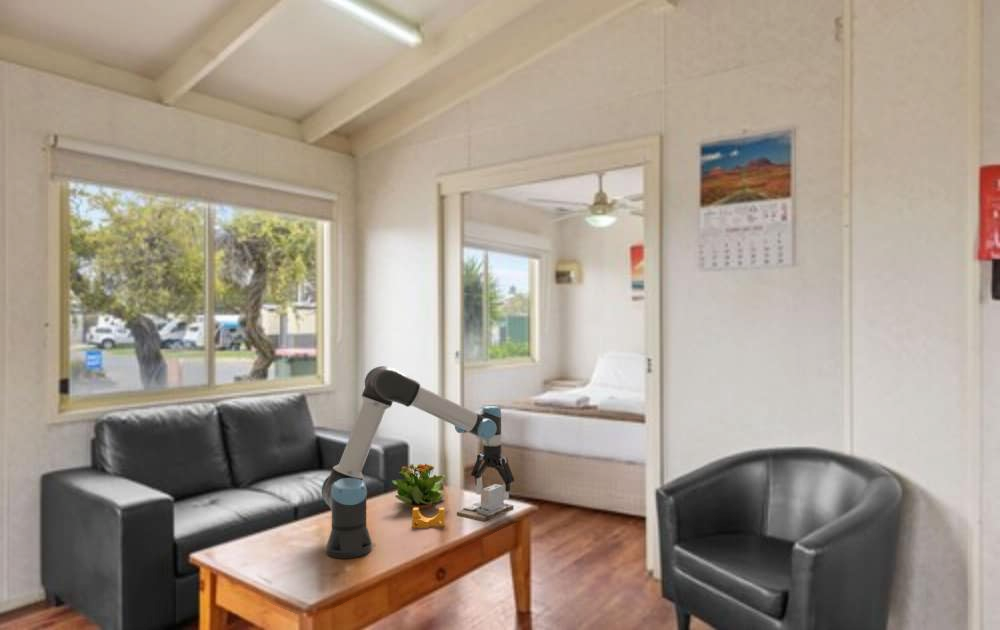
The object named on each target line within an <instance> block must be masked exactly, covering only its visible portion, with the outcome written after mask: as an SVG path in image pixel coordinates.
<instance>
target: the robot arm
mask: <svg viewBox="0 0 1000 630" xmlns="http://www.w3.org/2000/svg"><path fill="white" fill-rule="evenodd" d="M361 399H362V401H363V403H362V405H361V408H360V409H359V410H360V411H359V413H358V415H357V417H356V421H355V422H354V425H353V428H352V430H351V433H350V436H349V437H348V441H347V442H346V445H345V448H344V451H343V453H342V455H341V458H340V461H339V463H338V464H337V465H334V466H333V467H332V469H331V472H330V474H329V475H328V476H327V477H326V478H325V479H324V481H323V483H322V485H321V495H322V499H323V501H324V503H325V504H326V505H327V506H328V507H329V508H330V510H331V530H330V534H329V536H328V537H329V538H328V541H327V544H326V547H325V548H326V556H328V557H330V558H334V559H339V560H341V559H342V560H343V559H355V558H358V557H362V556H366V555H367V554H369V553H370V552H371V551H372V548H373V543H372V539H371V537H370V536H371V535H370V533H369V529H368V527H367V526H368V525H367V495H368V490H367V485H366V483H365V482H364V481H363V479H364V475H363V473H362V471H363V468H364V466H365V463H366V460H367V459H368V455H369V453H370V450H371V447H372V445H373V443H374V440H375V438H376V435H377V432H378V431H379V427H380V425H381V422H382V420H383V417H384V415H385V412H386V410H387V409H389V408H392V405H393V403H397V404H400V405H403V406H404V407H406V408H409V407H413V408H416V409H418V410H420V411H423V412H425V413H427V414H429V415H432V416H433V417H436V418H437V419H439V420H441V421H444V422H447V423H449V424H450V425H453V426H454V429H455V431H456V433H458V434H465V433H468V434H472V435H473V436H476V437H479V439H480V438H481V439H482V444H483V445H482V453H480V454H477V455H476V461H475V463H474V466H473V467H472V471H471V473H470V474H471V476H472V477H474V480H475V481H474V484H475V486H476V495H481V489H483V477H482V475H483V473H484V472H485V471H486V469H487V468H492V469H495V471H497V473H498V474H499V476H500V477H501V479H502V481H503V482H504V483H503V484H502V485H503V500H504V501H506V500H509V498H510V495H509V493H510V490H511V483H514V482H515V478H514V475H513V473H512V470H511V468H510V466H509V465H510V464H509V462H508V457H501V455H502V410H501V407H500V406H496V405H486V406H483V407H482V409H481V410H482V411H480V412H476V411H472V410H470V409H468V408H466V407H464V406H462V405H459V404H458V403H456V402H454V401H452V400H449V399H448V398H446V397H443V396H442V395H439V394H437V393H435V392H433V391H431V390H429V389H427V388H424V387H423V386H421V382H419V381H417V380H414V379H413V378H411V377H410V376H408V375H406V374H405V373H403V372H402V371H400V370H398V369H396V368H392V367H389V366H385V365H382V366H381V365H380V366H376V367H373V368H372V369H370V370H369V372H367V374H366V375H365V378H364V389H363V391H362V393H361ZM482 462H483V463H482Z"/></svg>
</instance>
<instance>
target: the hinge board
mask: <svg viewBox="0 0 1000 630" xmlns="http://www.w3.org/2000/svg"><path fill="white" fill-rule="evenodd" d="M507 504H508V507H507V508H505V509H503V510H501V511H498V512H496V513H494V514H491V515H489V516H488V515H484V514H480V513H477V509H481V500H480V501H478V502H475V503H473V504H470V505H468V506H465V507H463V508H462V509H460V510H458V511H456V515H457V516H460V517H464V516H465V517H466V518H469V519H474V520H477V521H482V522H486V521H488V520H490V519H493V518H495V517H496V516H499V515H501V514H504V513H506V512H508V511H510V510H513V509H514V505H513V504H509V503H507ZM465 517H464V518H465Z"/></svg>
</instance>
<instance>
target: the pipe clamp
mask: <svg viewBox="0 0 1000 630" xmlns="http://www.w3.org/2000/svg"><path fill="white" fill-rule="evenodd" d="M445 509H446V507H438V512H437V514H435V515H434V516H433V517H425V516H424V515H423V514H422V513H421V511H420V509H419V508H412V517H411V518H412V519H411V528H413V529H417V528H418V529H421V528H422V529H425V528H426V529H429V528H430V527H445V523H446V519H445V517H446V516H445V515H446V514H445Z"/></svg>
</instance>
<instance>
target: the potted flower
mask: <svg viewBox="0 0 1000 630" xmlns="http://www.w3.org/2000/svg"><path fill="white" fill-rule="evenodd" d="M434 469H435V466H433V465H430V464H427V463H424V464H421V463H419V464H418V465H417V466H415V465H414V464H413V463H411V464H409V466H408V467H407V466H406V465H405V466H402V467H401V471H399V472H398V473H399V474H401V475H403V476H404V479H403V478H402V479H398V478H397V479H394V480H391V482H392V483H393V485H394V486H397V488H396V489H397V494H396V495H395V498H396V499H398V500H399V501H401V502H402V503H403V502H404V503H406V504H408V505H409V507H410V508H412V509H413V508H419V510H421V509H422V510H423V509H426V508H430V507H431V506H433V504H436V503H437V504H438V503H439V502H441V501H442V499H443V498H444V494H443V493H441V492H439V491H444V483H443V482H440V481H441V480H442V478H443V479H444V478H446V477H447V475H446V473H445V474H442V475H436V474H435V475H433V476H431V477H430V474H431V473H433V470H434ZM439 482H440V483H439Z"/></svg>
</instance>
